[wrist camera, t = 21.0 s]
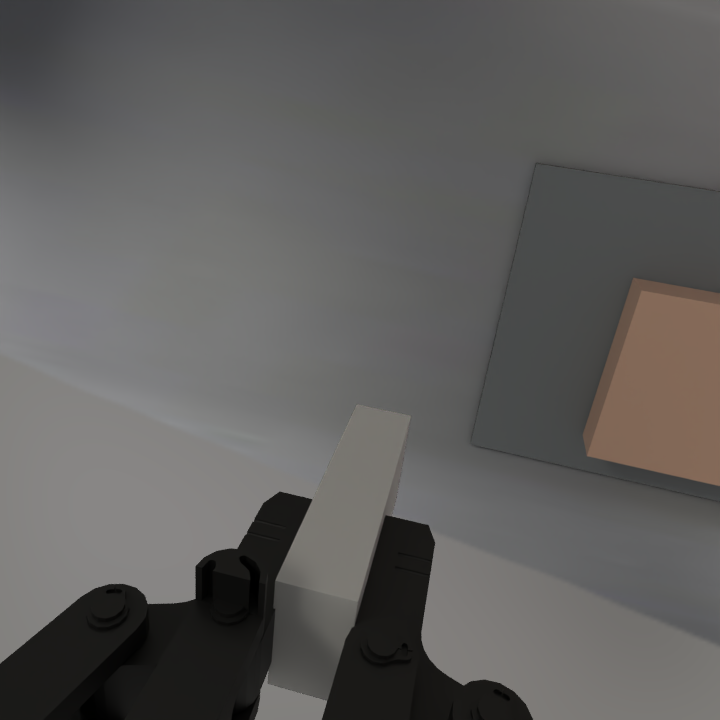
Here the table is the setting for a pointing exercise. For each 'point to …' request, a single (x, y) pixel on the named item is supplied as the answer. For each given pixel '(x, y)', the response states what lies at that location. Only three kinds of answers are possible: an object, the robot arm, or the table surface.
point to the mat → (586, 307)
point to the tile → (661, 385)
